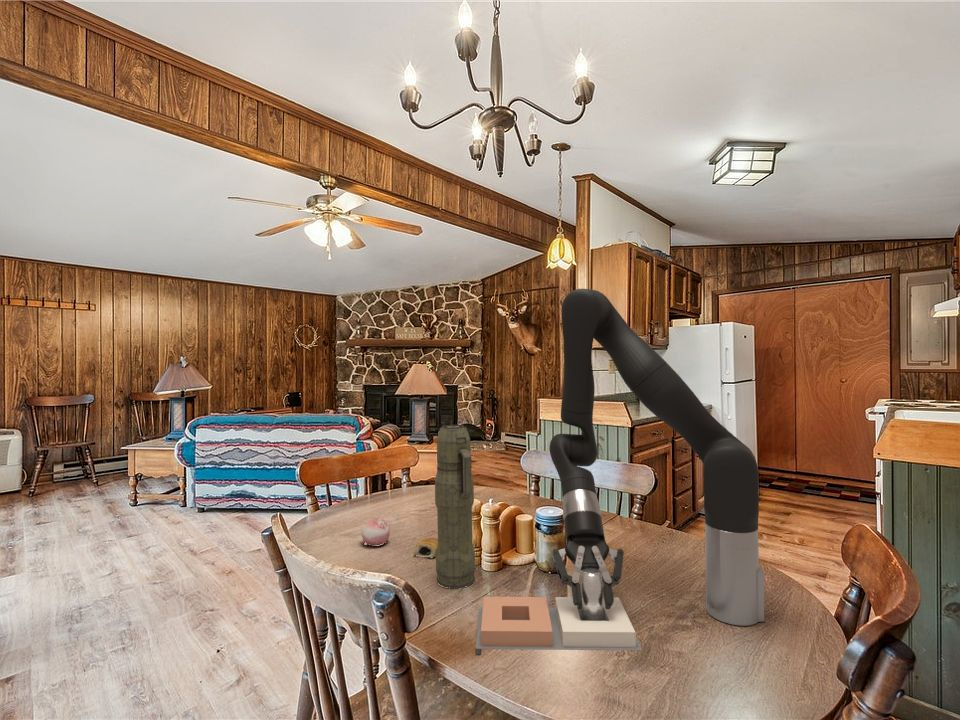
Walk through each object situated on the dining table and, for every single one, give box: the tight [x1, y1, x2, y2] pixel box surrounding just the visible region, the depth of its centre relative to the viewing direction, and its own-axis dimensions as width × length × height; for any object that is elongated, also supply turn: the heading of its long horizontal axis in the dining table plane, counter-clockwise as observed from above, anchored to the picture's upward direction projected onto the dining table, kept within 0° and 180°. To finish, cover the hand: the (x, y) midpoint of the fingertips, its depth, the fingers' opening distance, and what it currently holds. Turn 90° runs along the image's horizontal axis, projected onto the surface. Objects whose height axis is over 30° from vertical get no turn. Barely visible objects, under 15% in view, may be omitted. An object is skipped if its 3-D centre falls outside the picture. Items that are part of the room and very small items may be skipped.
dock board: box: [475, 596, 643, 655], centre depth 90 cm, size 28×14×4 cm, turn 87°
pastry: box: [413, 537, 438, 559], centre depth 129 cm, size 9×7×4 cm
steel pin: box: [581, 568, 604, 621], centre depth 90 cm, size 4×4×10 cm
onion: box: [361, 517, 391, 546], centre depth 135 cm, size 8×8×7 cm
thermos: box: [434, 424, 476, 589], centre depth 112 cm, size 9×12×35 cm
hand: (594, 607), depth 88 cm, fingers open, 4 cm apart
